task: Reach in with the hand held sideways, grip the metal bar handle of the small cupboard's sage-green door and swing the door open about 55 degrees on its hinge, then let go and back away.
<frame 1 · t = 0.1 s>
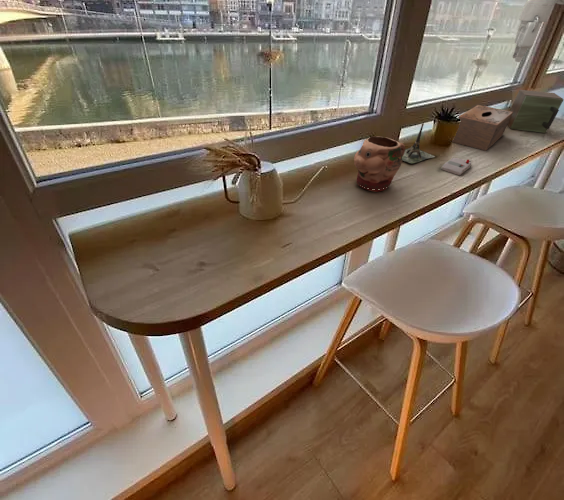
hand: (516, 59, 124), 29 cm above the table, tool pointing down, fingers open, 8 cm apart
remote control: (456, 167, 116), on the table
door: (537, 116, 144), point 7 cm above the table, hinge at 0.0°
eiffel tower figurine: (412, 156, 122), on the table
decorative planter: (375, 184, 103), on the table
cupboard: (524, 126, 155), on the table
tissue box cover: (476, 138, 141), on the table
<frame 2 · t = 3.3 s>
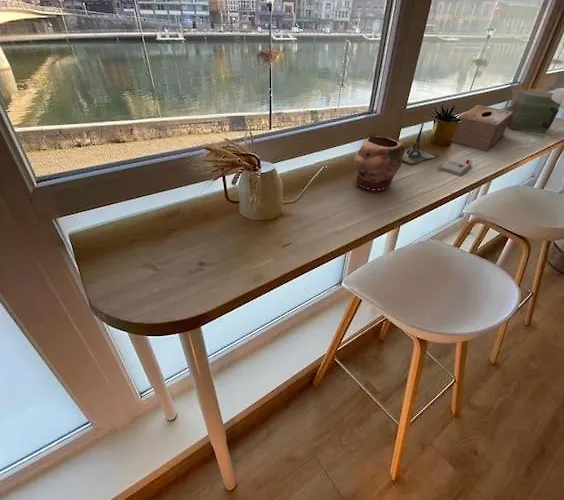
nothing on the table moved.
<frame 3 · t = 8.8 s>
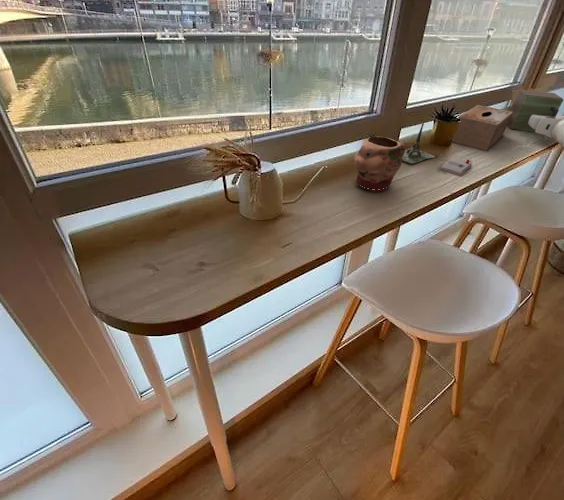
hand: (551, 118, 142), 8 cm above the table, tool horizontal, fingers closed on door
door: (537, 116, 144), point 7 cm above the table, hinge at 0.0°, touching gripper
everything else where it was.
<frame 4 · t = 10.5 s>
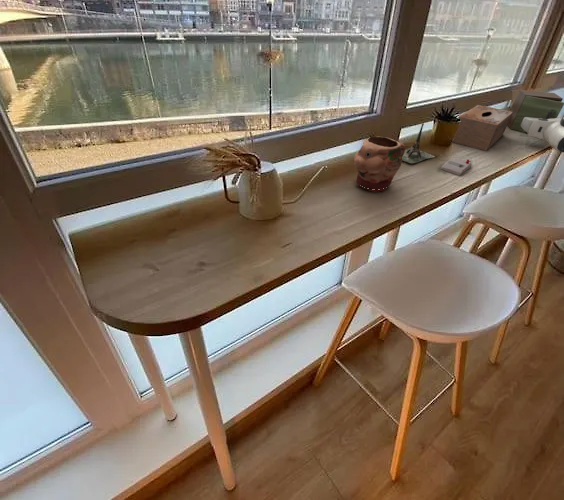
hand: (545, 120, 139), 8 cm above the table, tool horizontal, fingers closed
door: (534, 117, 142), point 7 cm above the table, hinge at 27.6°, touching gripper
everything else where it was.
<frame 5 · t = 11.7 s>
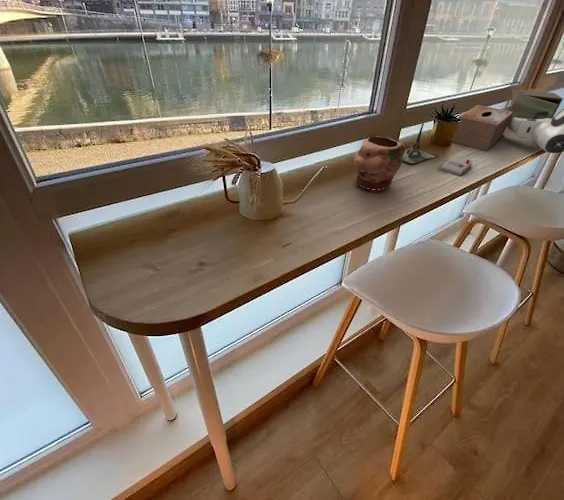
hand: (533, 121, 137), 8 cm above the table, tool horizontal, fingers closed on door
door: (528, 117, 142), point 7 cm above the table, hinge at 52.5°, touching gripper
everything else where it was.
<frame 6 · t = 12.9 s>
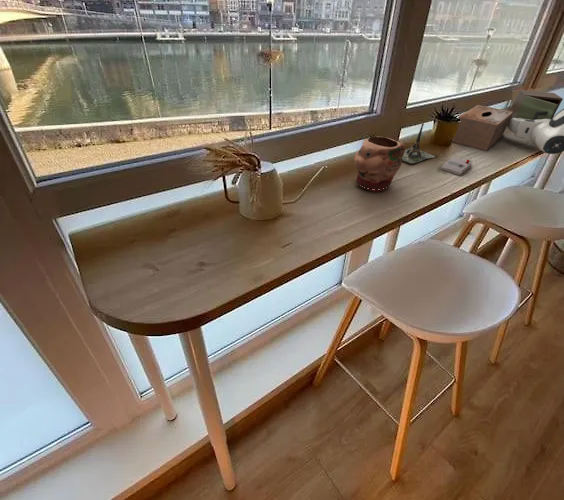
hand: (532, 121, 138), 7 cm above the table, tool horizontal, fingers open, 8 cm apart
door: (527, 117, 142), point 7 cm above the table, hinge at 53.8°
everything else where it was.
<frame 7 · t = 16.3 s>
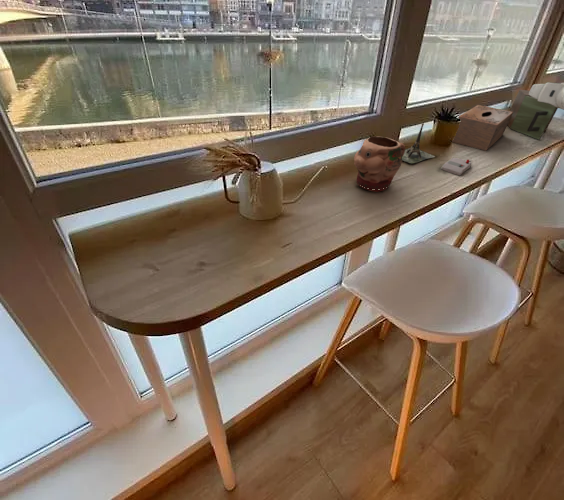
hand: (553, 92, 128), 19 cm above the table, tool horizontal, fingers open, 8 cm apart
nothing on the table moved.
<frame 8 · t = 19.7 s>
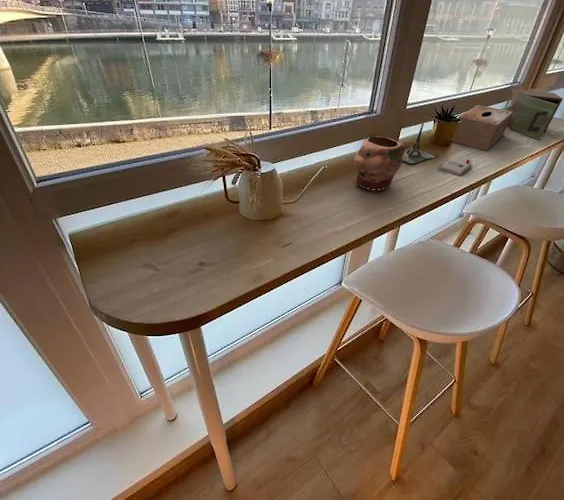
nothing on the table moved.
at the end: door at +54° (first picture: +0°); the gripper is holding nothing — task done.
